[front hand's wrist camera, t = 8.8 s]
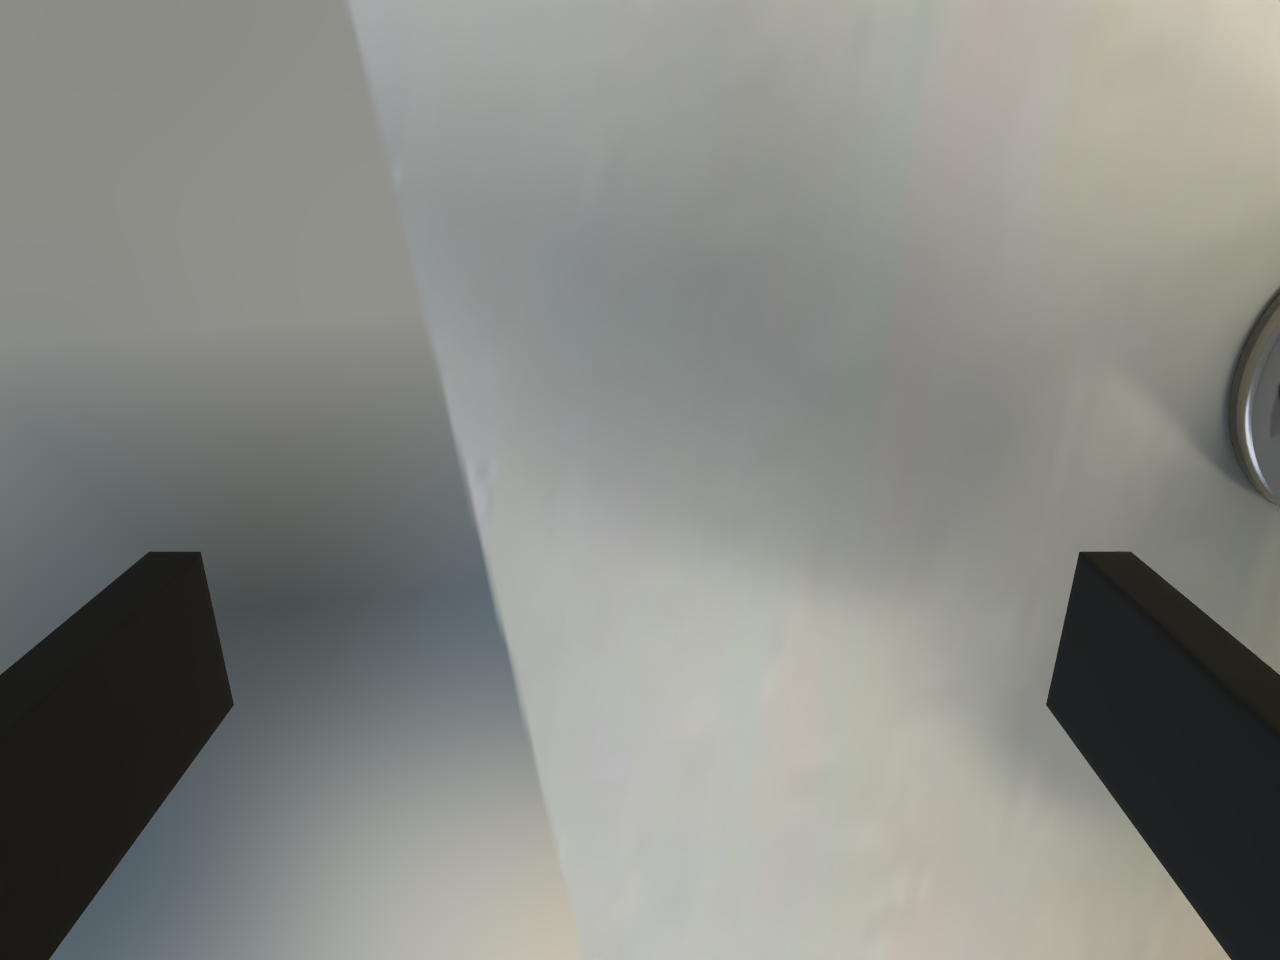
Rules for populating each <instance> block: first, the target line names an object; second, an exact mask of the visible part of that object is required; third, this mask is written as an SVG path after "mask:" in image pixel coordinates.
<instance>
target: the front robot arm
mask: <svg viewBox="0 0 1280 960" xmlns="http://www.w3.org/2000/svg"><path fill="white" fill-rule="evenodd" d="M1229 425H1230V435H1231V440H1232V444H1233V448H1234V451H1235V454H1236V457H1237V460H1238V462H1239V464H1240V466H1241V468H1242V470H1243V472H1244V473H1245V475H1246V476H1247V478H1248V479H1249V481H1250V482H1251V483H1252V484H1253V485H1254V486H1255V488H1256V489H1257V490H1258V491H1259V492H1260V493H1261V494H1262V495H1264V496H1265V497H1266V498H1267V499H1268V500H1270V501H1271V502H1273V503H1274V504H1276V505H1277V506H1279V507H1280V294H1279V295H1278V296H1277V297H1276V299H1275V300H1274V301H1273V303H1272V304H1271V305H1270V306H1269V308H1268V309H1267V310H1266V312H1265V313H1264V315H1263V316H1262V318H1261V319H1260V321H1259V322H1258V324H1257V326H1256V327H1255V329H1254V331H1253V332H1252V334H1251V336H1250V338H1249V340H1248V342H1247V344H1246V346H1245V348H1244V351H1243V353H1242V355H1241V358H1240V360H1239V363H1238V366H1237V369H1236V373H1235V376H1234V380H1233V385H1232V389H1231V396H1230V404H1229ZM233 705H234V704H233V699H232V695H231V690H230V685H229V681H228V676H227V672H226V667H225V662H224V658H223V653H222V649H221V644H220V639H219V635H218V630H217V626H216V621H215V617H214V612H213V607H212V602H211V598H210V593H209V589H208V584H207V579H206V575H205V570H204V565H203V561H202V556H201V552H148V553H147V554H146V555H145V556H144V557H142V558H141V559H140V560H139V561H138V562H136V563H135V564H134V565H133V566H132V567H130V568H129V569H128V570H127V571H125V572H124V573H123V574H122V575H121V576H119V577H118V578H117V579H116V580H115V581H113V582H112V583H111V584H110V585H109V586H107V587H106V588H105V589H104V590H103V591H101V592H100V593H99V594H98V595H96V596H95V597H94V598H93V599H92V600H90V601H89V602H88V603H87V604H86V605H84V606H83V607H82V608H81V609H80V610H78V611H77V612H76V613H75V614H74V615H72V616H71V617H70V618H69V619H67V620H66V621H65V622H64V623H63V624H61V625H60V626H59V627H58V628H57V629H55V630H54V631H53V632H52V633H51V634H49V635H48V636H47V637H46V638H45V639H43V640H42V641H41V642H40V643H39V644H37V645H36V646H35V647H34V648H33V649H31V650H30V651H29V652H28V653H26V654H25V655H24V656H23V657H22V658H20V659H19V660H18V661H17V662H16V663H14V664H13V665H12V666H11V667H10V668H8V669H7V670H6V671H5V672H4V673H2V674H1V675H0V960H49V959H50V957H51V956H52V954H53V953H54V952H55V950H56V949H57V948H58V946H59V945H60V943H61V942H62V941H63V939H64V938H65V937H66V935H67V934H68V932H69V931H70V930H71V928H72V927H73V926H74V924H75V923H76V921H77V920H78V919H79V917H80V916H81V914H82V913H83V912H84V910H85V909H86V908H87V906H88V905H89V903H90V902H91V901H92V899H93V898H94V897H95V895H96V894H97V892H98V891H99V890H100V888H101V887H102V885H103V884H104V883H105V881H106V880H107V879H108V877H109V876H110V875H111V873H112V872H113V870H114V869H115V868H116V866H117V865H118V864H119V862H120V861H121V859H122V858H123V857H124V855H125V854H126V853H127V851H128V850H129V848H130V847H131V846H132V844H133V843H134V841H135V840H136V839H137V837H138V836H139V835H140V833H141V832H142V830H143V829H144V828H145V826H146V825H147V824H148V822H149V821H150V819H151V818H152V817H153V815H154V814H155V813H156V811H157V810H158V808H159V807H160V806H161V804H162V803H163V802H164V800H165V799H166V797H167V796H168V795H169V793H170V792H171V791H172V789H173V788H174V786H175V785H176V784H177V782H178V781H179V779H180V778H181V777H182V775H183V774H184V773H185V771H186V770H187V769H188V767H189V766H190V764H191V763H192V762H193V760H194V759H195V758H196V756H197V755H198V753H199V752H200V751H201V749H202V748H203V746H204V745H205V744H206V742H207V741H208V740H209V738H210V737H211V735H212V734H213V733H214V731H215V730H216V729H217V727H218V726H219V724H220V723H221V722H222V720H223V719H224V717H225V716H226V715H227V713H228V712H229V711H230V709H231V708H232V707H233ZM1046 705H1047V707H1048V708H1049V709H1050V711H1051V712H1052V713H1053V715H1054V716H1055V718H1056V719H1057V720H1058V722H1059V723H1060V724H1061V726H1062V727H1063V729H1064V730H1065V731H1066V733H1067V734H1068V735H1069V737H1070V738H1071V740H1072V741H1073V742H1074V744H1075V745H1076V747H1077V748H1078V749H1079V751H1080V752H1081V753H1082V755H1083V756H1084V758H1085V759H1086V760H1087V762H1088V763H1089V764H1090V766H1091V767H1092V769H1093V770H1094V771H1095V773H1096V774H1097V775H1098V777H1099V778H1100V780H1101V781H1102V782H1103V784H1104V785H1105V786H1106V788H1107V789H1108V791H1109V792H1110V793H1111V795H1112V796H1113V797H1114V799H1115V800H1116V802H1117V803H1118V804H1119V806H1120V807H1121V808H1122V810H1123V811H1124V813H1125V814H1126V815H1127V817H1128V818H1129V819H1130V821H1131V822H1132V824H1133V825H1134V826H1135V828H1136V829H1137V831H1138V832H1139V833H1140V835H1141V836H1142V837H1143V839H1144V840H1145V842H1146V843H1147V844H1148V846H1149V847H1150V848H1151V850H1152V851H1153V853H1154V854H1155V855H1156V857H1157V858H1158V859H1159V861H1160V862H1161V864H1162V865H1163V866H1164V868H1165V869H1166V870H1167V872H1168V873H1169V875H1170V876H1171V877H1172V879H1173V880H1174V881H1175V883H1176V884H1177V886H1178V887H1179V888H1180V890H1181V891H1182V892H1183V894H1184V895H1185V897H1186V898H1187V899H1188V901H1189V902H1190V903H1191V905H1192V906H1193V908H1194V909H1195V910H1196V912H1197V913H1198V915H1199V916H1200V917H1201V919H1202V920H1203V921H1204V923H1205V924H1206V926H1207V927H1208V928H1209V930H1210V931H1211V932H1212V934H1213V935H1214V937H1215V938H1216V939H1217V941H1218V942H1219V943H1220V945H1221V946H1222V948H1223V949H1224V950H1225V952H1226V953H1227V954H1228V956H1229V957H1230V959H1231V960H1280V675H1279V674H1278V673H1277V672H1275V671H1274V670H1273V669H1272V668H1270V667H1269V666H1268V665H1267V664H1266V663H1264V662H1263V661H1262V660H1261V659H1260V658H1258V657H1257V656H1256V655H1255V654H1254V653H1252V652H1251V651H1250V650H1249V649H1248V648H1246V647H1245V646H1244V645H1243V644H1241V643H1240V642H1239V641H1238V640H1237V639H1235V638H1234V637H1233V636H1232V635H1231V634H1229V633H1228V632H1227V631H1226V630H1225V629H1223V628H1222V627H1221V626H1220V625H1219V624H1217V623H1216V622H1215V621H1214V620H1213V619H1211V618H1210V617H1209V616H1208V615H1206V614H1205V613H1204V612H1203V611H1202V610H1200V609H1199V608H1198V607H1197V606H1196V605H1194V604H1193V603H1192V602H1191V601H1190V600H1188V599H1187V598H1186V597H1185V596H1184V595H1182V594H1181V593H1180V592H1179V591H1177V590H1176V589H1175V588H1174V587H1173V586H1171V585H1170V584H1169V583H1168V582H1167V581H1165V580H1164V579H1163V578H1162V577H1161V576H1159V575H1158V574H1157V573H1156V572H1155V571H1153V570H1152V569H1151V568H1150V567H1149V566H1147V565H1146V564H1145V563H1144V562H1142V561H1141V560H1140V559H1139V558H1138V557H1136V556H1135V555H1134V554H1133V553H1132V552H1079V556H1078V561H1077V565H1076V570H1075V575H1074V579H1073V584H1072V589H1071V593H1070V598H1069V602H1068V607H1067V612H1066V616H1065V621H1064V625H1063V630H1062V635H1061V639H1060V644H1059V649H1058V653H1057V658H1056V662H1055V667H1054V672H1053V676H1052V681H1051V685H1050V690H1049V695H1048V699H1047V704H1046Z"/></svg>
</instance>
